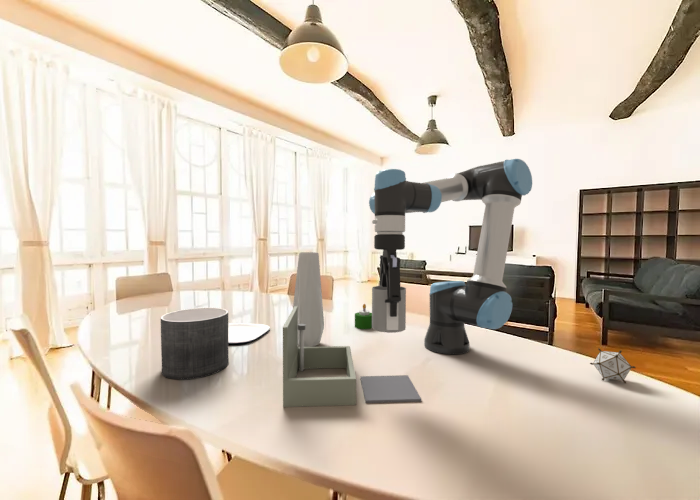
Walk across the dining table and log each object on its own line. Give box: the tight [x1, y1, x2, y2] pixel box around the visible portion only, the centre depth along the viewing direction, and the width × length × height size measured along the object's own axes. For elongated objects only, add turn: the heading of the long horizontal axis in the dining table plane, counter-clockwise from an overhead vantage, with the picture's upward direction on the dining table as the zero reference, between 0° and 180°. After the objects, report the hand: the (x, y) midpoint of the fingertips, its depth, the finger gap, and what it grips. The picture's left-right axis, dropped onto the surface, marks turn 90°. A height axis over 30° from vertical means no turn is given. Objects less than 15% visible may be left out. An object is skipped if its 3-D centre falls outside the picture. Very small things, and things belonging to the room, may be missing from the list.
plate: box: [228, 322, 271, 345], centre depth 126 cm, size 25×25×2 cm
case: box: [282, 306, 357, 408], centre depth 83 cm, size 16×22×18 cm
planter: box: [160, 307, 230, 380], centre depth 94 cm, size 18×18×16 cm
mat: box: [359, 374, 422, 404], centre depth 80 cm, size 13×13×1 cm
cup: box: [371, 285, 407, 334], centre depth 79 cm, size 8×8×10 cm
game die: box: [589, 347, 636, 384], centre depth 86 cm, size 9×8×10 cm
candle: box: [354, 303, 373, 330], centre depth 138 cm, size 8×8×10 cm
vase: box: [292, 251, 325, 347], centre depth 114 cm, size 12×12×33 cm
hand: (388, 324), depth 80 cm, fingers closed on cup, 8 cm apart
